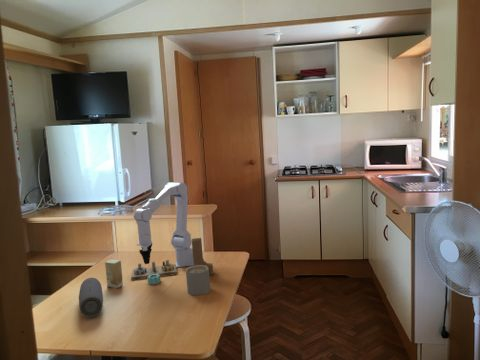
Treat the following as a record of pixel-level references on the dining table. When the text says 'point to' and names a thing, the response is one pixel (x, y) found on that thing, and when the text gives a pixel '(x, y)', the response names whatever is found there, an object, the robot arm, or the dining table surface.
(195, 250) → the wooden block
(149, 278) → the teal gear
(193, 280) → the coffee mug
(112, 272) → the skincare box
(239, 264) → the dining table surface
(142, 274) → the gear board
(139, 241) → the robot arm
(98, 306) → the bluetooth speaker
